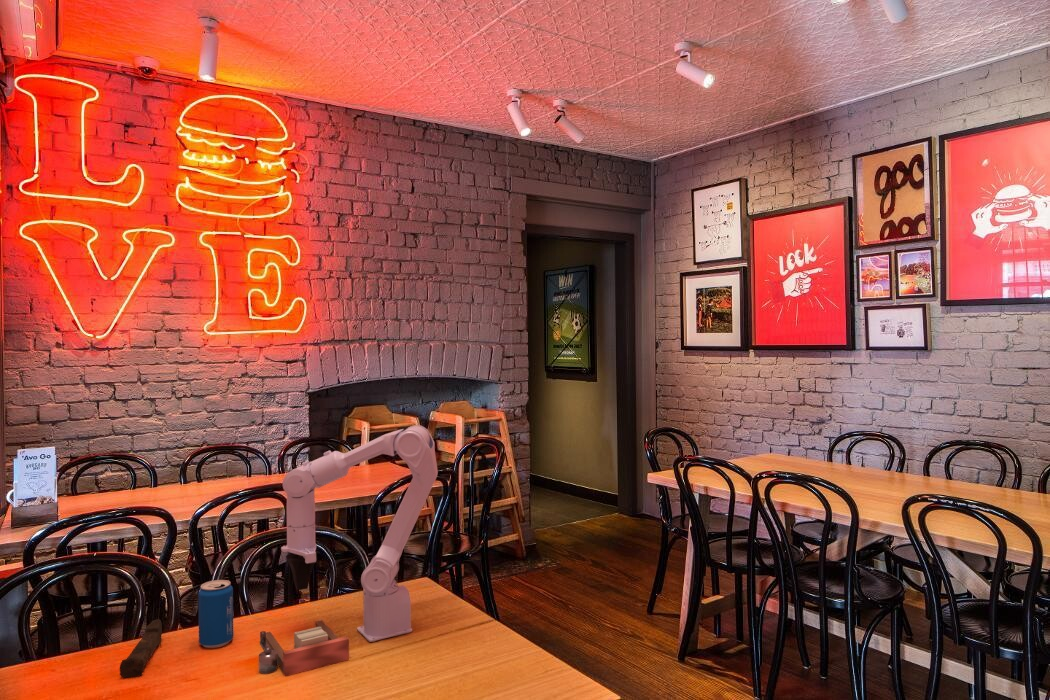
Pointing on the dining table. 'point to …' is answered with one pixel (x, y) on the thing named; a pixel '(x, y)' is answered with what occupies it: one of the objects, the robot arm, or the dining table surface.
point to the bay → (311, 652)
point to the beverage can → (215, 613)
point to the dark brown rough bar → (142, 651)
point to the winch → (267, 656)
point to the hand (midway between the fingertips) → (301, 588)
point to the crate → (309, 637)
